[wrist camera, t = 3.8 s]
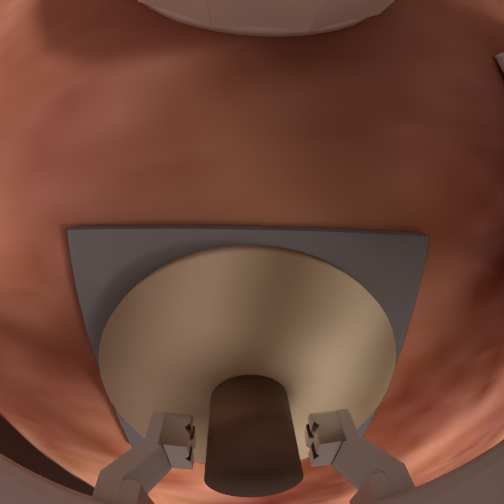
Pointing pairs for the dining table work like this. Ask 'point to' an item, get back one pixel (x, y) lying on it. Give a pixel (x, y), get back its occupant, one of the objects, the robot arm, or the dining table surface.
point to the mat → (213, 236)
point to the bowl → (269, 15)
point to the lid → (247, 357)
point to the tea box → (500, 60)
